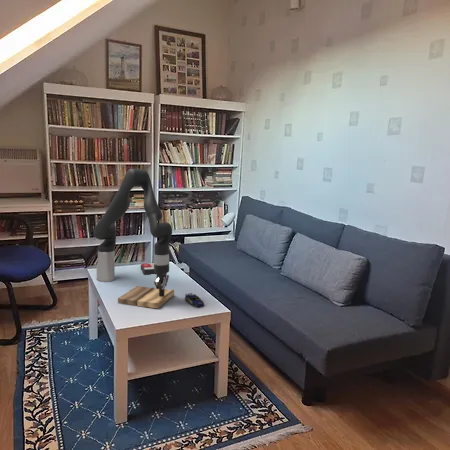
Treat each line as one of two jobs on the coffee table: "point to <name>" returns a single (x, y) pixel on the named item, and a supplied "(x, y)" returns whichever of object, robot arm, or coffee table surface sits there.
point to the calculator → (148, 268)
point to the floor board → (134, 295)
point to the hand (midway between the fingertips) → (161, 296)
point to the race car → (194, 300)
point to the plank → (155, 298)
